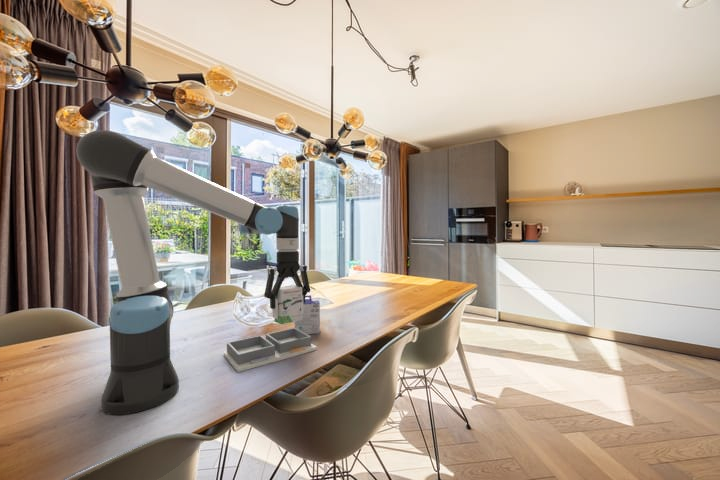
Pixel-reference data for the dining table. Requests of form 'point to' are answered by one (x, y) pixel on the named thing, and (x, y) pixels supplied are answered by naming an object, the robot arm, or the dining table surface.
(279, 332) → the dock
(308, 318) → the ink cartridge box
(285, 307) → the ink box
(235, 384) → the dining table surface
